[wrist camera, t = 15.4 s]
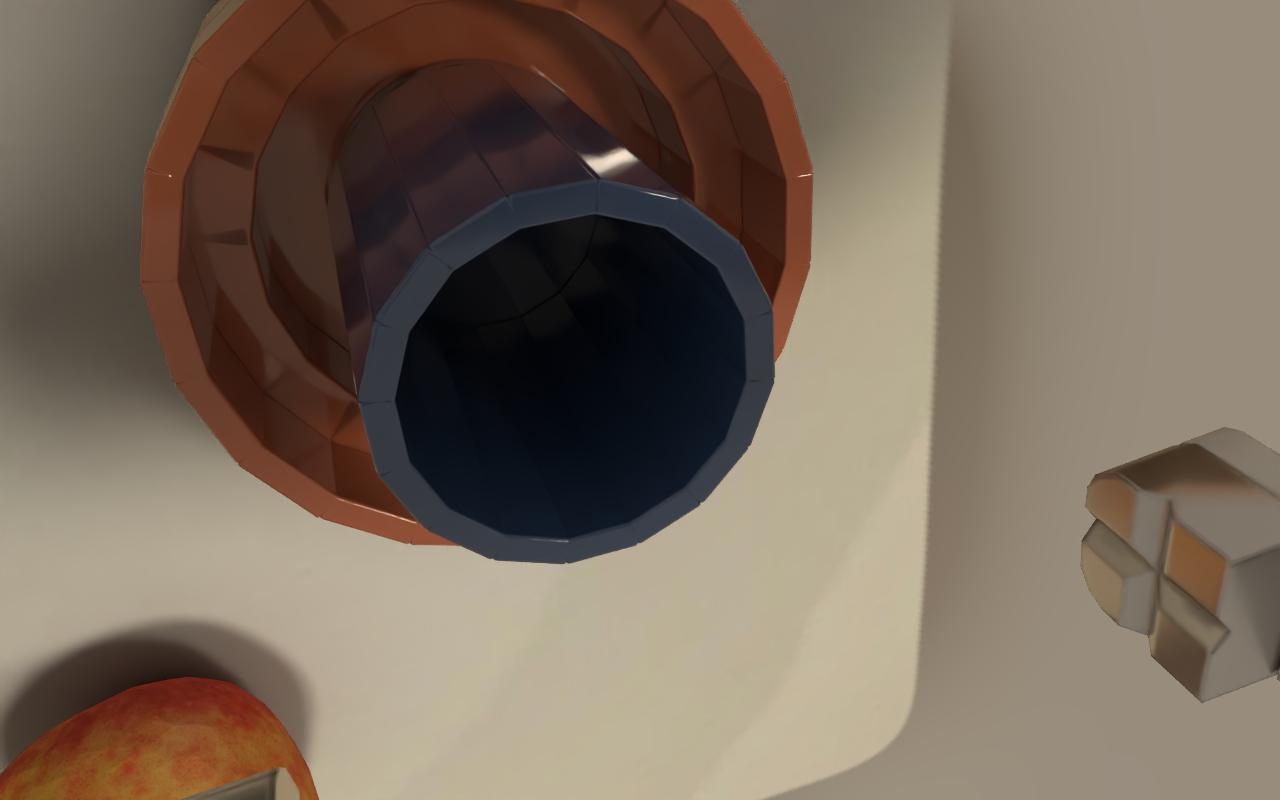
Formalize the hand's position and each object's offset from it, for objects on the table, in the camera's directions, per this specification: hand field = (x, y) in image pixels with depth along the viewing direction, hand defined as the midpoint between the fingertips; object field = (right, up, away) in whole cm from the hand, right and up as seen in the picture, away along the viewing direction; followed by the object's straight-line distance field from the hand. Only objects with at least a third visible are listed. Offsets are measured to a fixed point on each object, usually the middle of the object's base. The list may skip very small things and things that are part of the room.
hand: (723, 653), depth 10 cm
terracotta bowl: (-5, +7, +13) cm, 16 cm away
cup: (-4, +7, +13) cm, 15 cm away
